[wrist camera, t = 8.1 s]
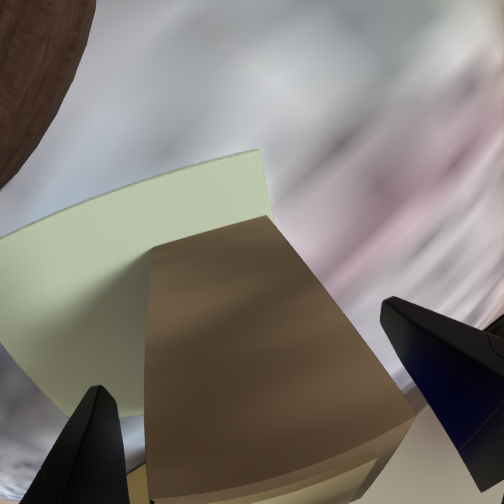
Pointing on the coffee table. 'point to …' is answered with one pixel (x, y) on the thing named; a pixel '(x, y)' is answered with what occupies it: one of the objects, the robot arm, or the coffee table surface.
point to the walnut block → (258, 378)
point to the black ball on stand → (36, 70)
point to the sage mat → (109, 275)
